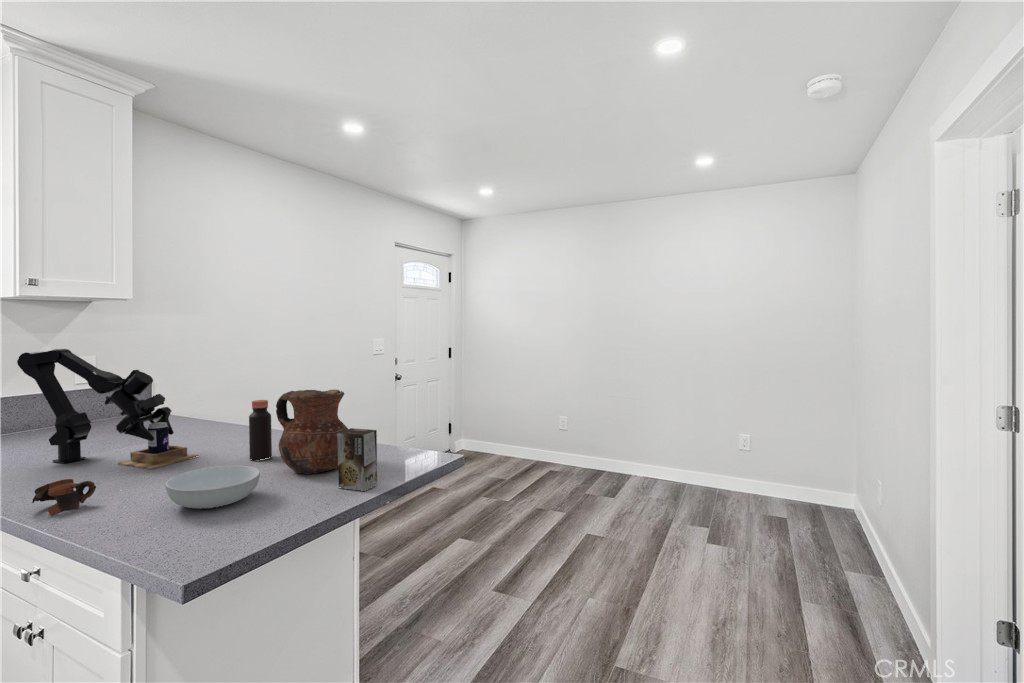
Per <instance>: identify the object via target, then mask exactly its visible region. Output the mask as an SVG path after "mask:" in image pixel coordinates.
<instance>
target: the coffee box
mask: <svg viewBox="0 0 1024 683" xmlns="http://www.w3.org/2000/svg"><path fill="white" fill-rule="evenodd" d="M337 435H338V468H337V469H338V470H337V471H338V474H337V475H338V476H337V477H338V479H337V480H338V488H339V487H341V488H346V489H354V490H353V491H355V490H361V491H360V492H363V491H365V492H367V491H369V490H370V489H369V488H371V487H373V486H375V485H377V486H378V455H377V454H378V449H377V448H378V446H377V444H378V443H377V442H378V441H377V437H378V436H377V435H378V434H377V429H365V428H355V427H354V428H348V429H347V430H344V431H342V432H339V433H337ZM375 487H376V486H375ZM373 488H374V487H373ZM346 489H345V490H346ZM368 489H369V490H368ZM371 489H372V488H371ZM366 490H367V491H366Z"/></svg>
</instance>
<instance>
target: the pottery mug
mask: <svg viewBox="0 0 1024 683" xmlns="http://www.w3.org/2000/svg"><path fill="white" fill-rule="evenodd" d="M87 487H88V490H87V491H86V493H84V491H85V488H87ZM96 488H97V486H96V485H95V482H93V481H91V480H85V481H81V482H79V483H74V479H72V478H64V479H60V480H56V481H53V482H50V483H46V484H43V485H42V486H39V487H37V488H36V489H34V490H33V492H34V494H35V495H34V497H33V498H32V501H31V504H34V503H35V502H47V501H56V503H55V504H53V505H50V506H47V511H48V513H49V516H50V515H51V516H54V514H55V515H57V514H60V513H63V512H67V511H72V510H77V509H78V508H79V509H80V504H84V503H85V501H86V500H87V499H88V498H91V497H92V496H93V495H94V492H96Z"/></svg>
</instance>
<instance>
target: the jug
mask: <svg viewBox="0 0 1024 683" xmlns="http://www.w3.org/2000/svg"><path fill="white" fill-rule="evenodd" d="M344 395H345V392H344V391H343V390H339V389H329V390H325V391H322V390H318V389H304V390H301V389H299V390H290V391H288V392H285V393H282V395H281V396H279V398H278V400H277V401H276V404H275V407H276V410H275V412H276V418H277V420H278V422H279V424H280V425H281V426H282V428H283V432H282V433H281V436H280V438H279V440H278V441H279V442H278V451H279V454H280V457H281V459H282V461H283V462H284V464H285V465H286V466H287V467H288V468H289V469H291V470H292V471H294V472H295V473H296V472H297V474H301V473H314V474H317V473H316V472H322V473H324V472H323V471H327V472H329V471H328V470H331V471H333V470H332V469H334V470H336V469H338V468H337V467H338V435H337V433H339V432H342V431H344V430H347V429H349V428H348V427H347V426H346V425H345V424H344V423H343V422H342V421H341V420H340V419H339V415H338V414H339V405H340V402H341V401H342V399H343V397H344ZM288 402H289V403H290V405H291V406H292V409H293V418H289V415H288V409H287V408H288V407H287V406H288ZM335 468H336V469H335Z"/></svg>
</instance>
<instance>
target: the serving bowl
mask: <svg viewBox="0 0 1024 683" xmlns="http://www.w3.org/2000/svg"><path fill="white" fill-rule="evenodd" d="M260 476H261V471H260V470H259V469H258V468H256V467H253V466H251V465H249V466H248V465H238V464H237V465H218V466H217V465H216V466H211V467H210V466H209V467H202V468H199V469H194V470H190V471H186V472H182V473H181V474H178V475H174V476H173V477H171V478H169V479H168V480H167V481H166V482H165V490H166V494H167V496H168V497H169V499H170V500H171V501H172V502H174V504H176V505H178V506H180V507H183V508H189V509H202V508H208V509H214V508H213V507H216V508H219V506H221V507H224V506H223V505H225V506H227V505H230V504H233V503H236V502H238V501H241V500H242V499H244V498H246V497H247V496H249V495H250V494H252V493H253V491H254V490H255V489H256V487H257V485H258V484H259V481H260Z"/></svg>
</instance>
